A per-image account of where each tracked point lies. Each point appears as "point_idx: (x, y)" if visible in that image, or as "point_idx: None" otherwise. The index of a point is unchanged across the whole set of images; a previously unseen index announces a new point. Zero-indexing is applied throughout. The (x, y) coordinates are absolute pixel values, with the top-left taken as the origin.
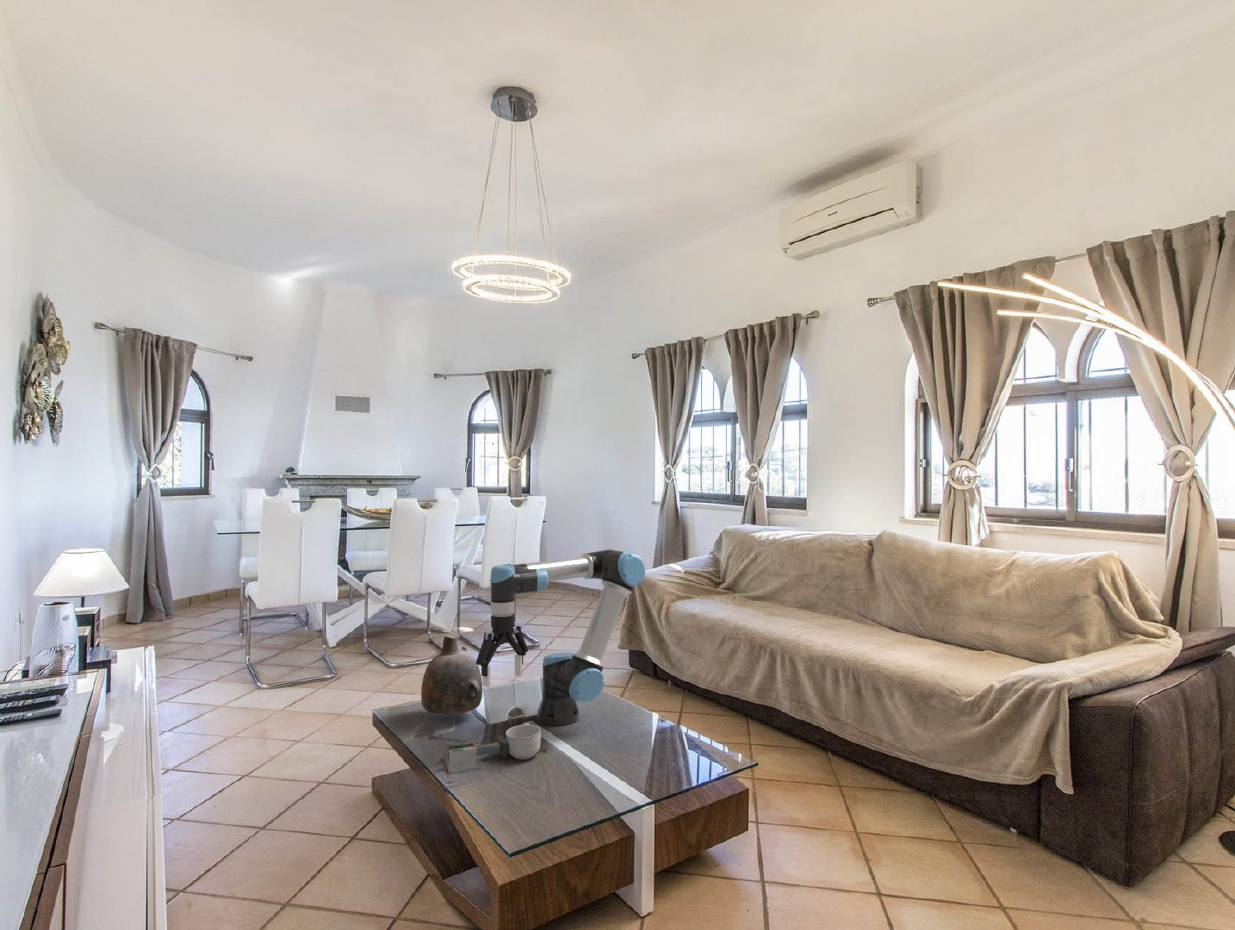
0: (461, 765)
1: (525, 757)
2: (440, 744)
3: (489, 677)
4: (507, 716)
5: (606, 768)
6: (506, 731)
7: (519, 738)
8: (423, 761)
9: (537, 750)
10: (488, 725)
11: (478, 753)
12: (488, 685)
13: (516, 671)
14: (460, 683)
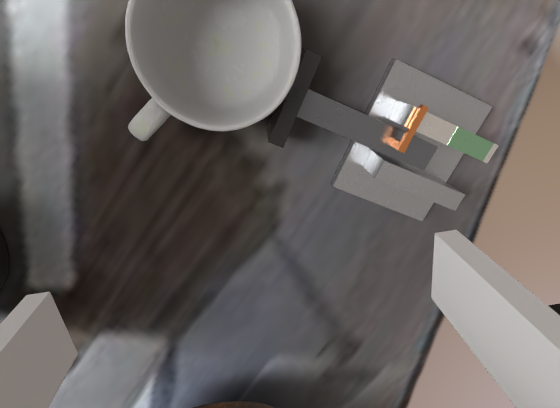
0: (444, 110)
1: None
2: (362, 299)
3: (504, 281)
4: (87, 354)
5: None
6: (273, 108)
7: None
8: (467, 232)
9: None
10: (176, 331)
11: (379, 120)
12: (464, 240)
13: (51, 365)
14: None
